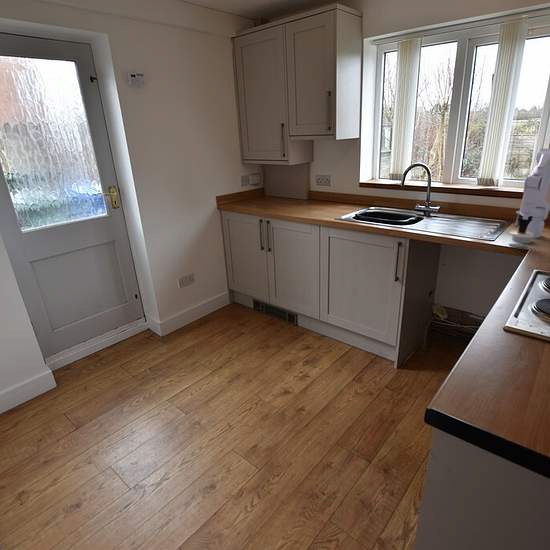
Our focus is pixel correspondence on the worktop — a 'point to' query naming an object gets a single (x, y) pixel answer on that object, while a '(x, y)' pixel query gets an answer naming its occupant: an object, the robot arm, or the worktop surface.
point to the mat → (518, 246)
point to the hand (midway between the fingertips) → (521, 231)
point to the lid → (518, 234)
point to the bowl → (522, 239)
